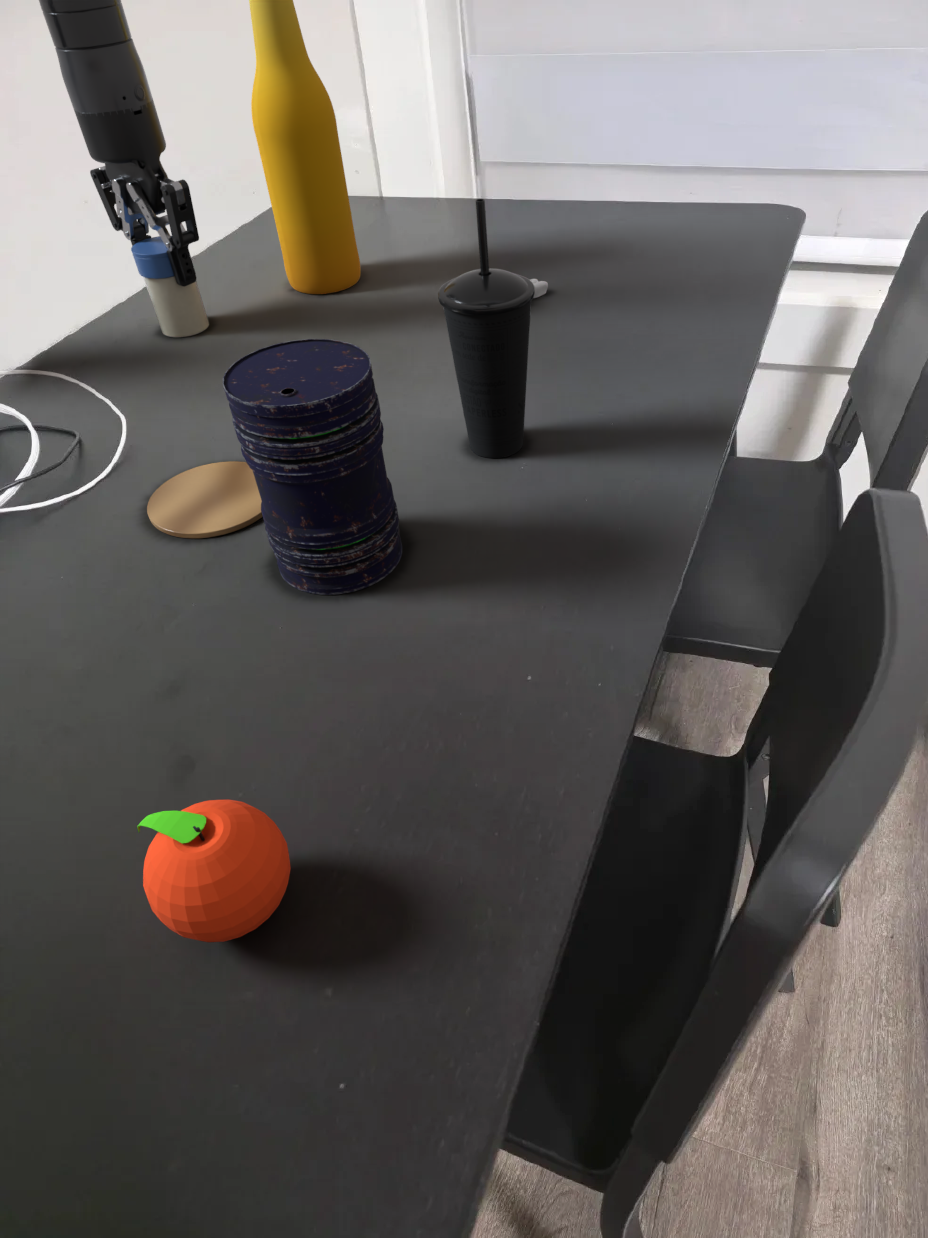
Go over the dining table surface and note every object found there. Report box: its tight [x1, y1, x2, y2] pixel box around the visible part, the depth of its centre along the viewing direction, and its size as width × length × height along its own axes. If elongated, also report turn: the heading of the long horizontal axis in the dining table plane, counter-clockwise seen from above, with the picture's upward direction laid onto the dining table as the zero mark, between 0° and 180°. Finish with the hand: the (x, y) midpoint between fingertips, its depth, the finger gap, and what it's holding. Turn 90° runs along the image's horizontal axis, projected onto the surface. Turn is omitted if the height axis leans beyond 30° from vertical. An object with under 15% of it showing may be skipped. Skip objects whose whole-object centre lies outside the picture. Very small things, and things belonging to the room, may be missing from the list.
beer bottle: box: [248, 0, 362, 295], centre depth 96 cm, size 9×9×29 cm
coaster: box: [146, 460, 263, 539], centre depth 72 cm, size 11×11×1 cm
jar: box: [142, 276, 210, 338], centre depth 95 cm, size 5×5×9 cm
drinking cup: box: [437, 198, 535, 459], centre depth 69 cm, size 8×8×20 cm
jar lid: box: [130, 235, 194, 279], centre depth 93 cm, size 6×6×2 cm
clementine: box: [136, 799, 291, 943], centre depth 42 cm, size 8×7×7 cm
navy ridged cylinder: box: [222, 338, 403, 596], centre depth 60 cm, size 10×10×15 cm
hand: (169, 277), depth 94 cm, fingers closed on jar lid, 5 cm apart
